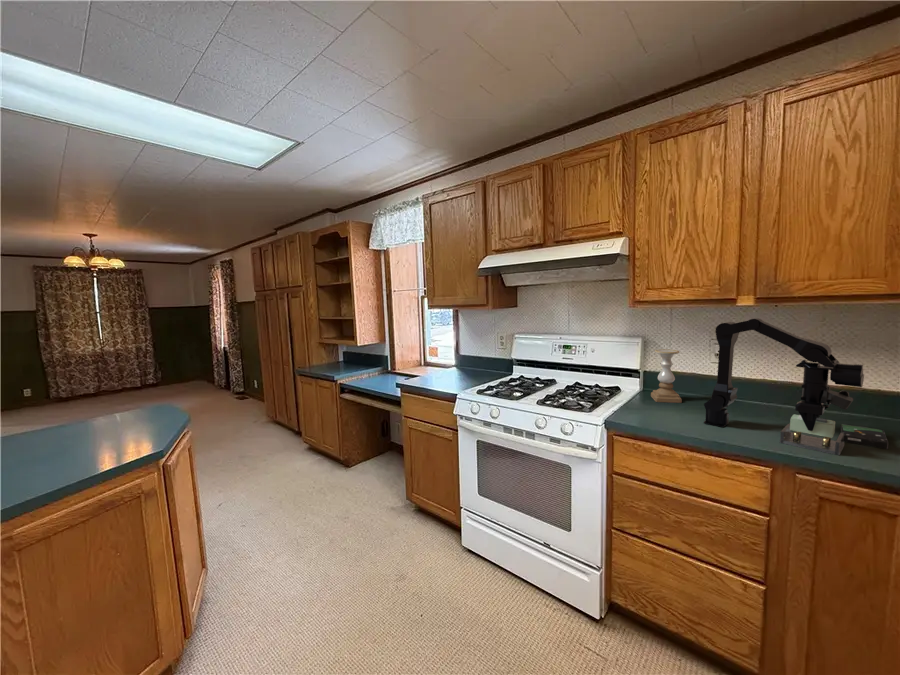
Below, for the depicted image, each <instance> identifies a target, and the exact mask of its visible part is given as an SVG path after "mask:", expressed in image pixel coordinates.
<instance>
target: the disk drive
mask: <svg viewBox="0 0 900 675" xmlns="http://www.w3.org/2000/svg"><path fill="white" fill-rule="evenodd" d="M840 433H843V434H844V442H843V443H848V444H849V443H850V444H855V445H861V446H867V447H873V448H877V449H885V450H888V449H889V440H888V438H887V435H886V431H885V430H884V429H881V428H873V427H867V426H858V425H850V424H845V423H842V424H840Z"/></svg>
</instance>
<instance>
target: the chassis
mask: <svg viewBox="0 0 900 675" xmlns="http://www.w3.org/2000/svg"><path fill="white" fill-rule="evenodd" d="M778 442H779V443H781V444H785V445H789V446H794V447H799V448H801V449H802V448H804V449H808V450H813V451H816V450H817V451H818V452H821V451H822V452H823V453H827V454H830V453H831V454H830V455H836V456H840V455H841V453H842V451H843V449H844V447H845V442H844V434H843V433H841V432H840V433H839V435H838V437H837V439H836V440H833V439H832V438H830V437H825V436H824V437H819V436H817V437H816V436H811V435H807V434H802V432H798V431H793V432H792V430H790V423H787V424H786V425H785V426H784V427H783V429H781V430H780V439H779V441H778ZM817 451H816V452H817Z"/></svg>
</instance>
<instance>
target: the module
mask: <svg viewBox="0 0 900 675" xmlns="http://www.w3.org/2000/svg"><path fill="white" fill-rule="evenodd" d="M789 424H790V430H791V431H793V432H796V431H798V432H801V433H804V434H810V435H814V436H818V437H819V436H821V437H824V438H825V437H830V438H831V439H832V438H834V436H835V432H836V421H835V420H831V419H826V418H821V417H819V418H817V420H816V423H815V426H814V428H813V431H809V430H808V429H807V427H806V425H805V423H804V421H803V419H802V417H801V416H800V414H795V413H794V414H792V416H791V417H790V422H789Z"/></svg>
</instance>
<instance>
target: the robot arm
mask: <svg viewBox="0 0 900 675" xmlns="http://www.w3.org/2000/svg"><path fill="white" fill-rule="evenodd" d="M714 331H715V338H716V342H717V343H718V360H717V361H718V363H717V374H716V375H717V378H716V381H717V382H716V383H715V386H714V388H713V391H712V393H711V398H710V399H709V400H707V401H706V402H704V403H703V406H704V408H705V420H704V421H703V424H706V425H710V426H716V427H721V428H724V427H726V426H727V425H728V424H729V422H730V420H729V419H730V414H729V412H728V407H729V406H730V405H731V404H733V403H734V402H735V401H736V399H738V396H737V392H738V387H734V386H733V384H732V377H733V363H734V350H735V349H734V348H735V345H736V344H737V340H738V338H739V335H740V333H743V332H748V331H754V332H757V333H759V334H761V335H763V336H765V337H767V338H770V339H771V340H774V341H776V342H778V343H780V344H783V345H784V346H787V347H789V348H790V349H792V350H793V351H794V352H795V353H797V354H798V355H799V356H801V357H802V358H803V359H802V360H801V361H800V362H799V363H796V365H795V367H796V368H803V379H802V381H803V382H802V384H801V389H802V395H801V396H800V401H797V403H795V411H796V412H798V413H799V414H798V415H800V416H801V417H802V419H803V421H804V423H805V425H806V427H807V429H808V430H809V431H813V428H814V426H815V423H816V420H817V418H821V416H823V415H824V414H825V410H826V409H828V408H829V407H830V405H833V406H837V407H839V408H840V409H842V410H847V409H848V408H849V407H850V405H851V404H852V402H853V401H854V398H853V397H852V396H850V391H847V390H843V389H842V390H840V391H839V392H838V391H834V390H832V389H831V386H830V385H829V379H830V382H831V381H832V383H834V385H838V386H839V385H840V386H849V387H856V388H862V387H863V386H864V379H865V374H864V365H863V364H857V363H855V364H852V363H850V364H849V363H840V361H839V360H838V359H837V358H836V357H835V356H834V355H833V354H832V352H833V351H832V349H831V347H830V346H829V345H828V344H826V343H824V342H820V341H817V340H812V339H809V338H804V337H800V336H798V335H795V334H793V333H791V332H789V331H787V330H784V329H783V328H780V327H778V326H775V325H773V324H771V323H769V322H766V321H764V320H763V319H761V318H758V317H755V318H751V319H747V320H744V321H739V322H734V321H727V322H721V323H720V324H718V325H717V326H716V327H715V330H714ZM808 361H809V362H808ZM829 371H830V372H829ZM829 373H830V375H829Z"/></svg>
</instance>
